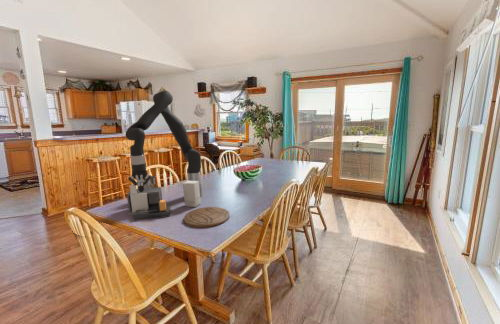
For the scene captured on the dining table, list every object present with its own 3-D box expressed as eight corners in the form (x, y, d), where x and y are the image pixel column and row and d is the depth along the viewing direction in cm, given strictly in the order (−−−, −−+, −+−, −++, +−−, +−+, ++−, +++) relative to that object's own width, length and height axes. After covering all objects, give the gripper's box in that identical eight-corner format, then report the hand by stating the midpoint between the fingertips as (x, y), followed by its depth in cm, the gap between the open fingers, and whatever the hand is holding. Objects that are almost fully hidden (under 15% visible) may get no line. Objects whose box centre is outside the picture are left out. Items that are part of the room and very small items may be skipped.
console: (170, 211, 150) (170, 206, 150) (169, 216, 143) (168, 211, 142) (136, 214, 146) (136, 210, 146) (133, 220, 139) (133, 215, 138)
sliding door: (148, 210, 151) (145, 183, 148) (148, 211, 149) (145, 184, 146) (132, 211, 149) (129, 185, 146) (132, 212, 147) (128, 185, 144)
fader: (166, 207, 148) (165, 199, 147) (165, 210, 143) (164, 201, 143) (161, 208, 147) (160, 199, 146) (160, 210, 143) (159, 202, 142)
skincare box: (201, 204, 162) (199, 180, 159) (195, 207, 156) (193, 183, 153) (189, 202, 164) (188, 180, 161) (184, 206, 158) (182, 182, 155)
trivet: (211, 206, 157) (211, 204, 157) (238, 217, 140) (238, 214, 140) (175, 219, 139) (175, 216, 139) (201, 233, 122) (201, 229, 122)
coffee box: (149, 197, 178) (147, 175, 175) (157, 197, 177) (155, 175, 174) (141, 201, 169) (139, 178, 166) (150, 202, 168) (147, 179, 165)
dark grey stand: (162, 204, 162) (161, 187, 160) (160, 211, 150) (158, 192, 148) (133, 207, 158) (130, 189, 156) (128, 215, 147) (125, 195, 144)
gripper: (151, 161, 149) (154, 188, 152) (127, 162, 146) (131, 190, 149) (149, 163, 142) (152, 192, 145) (124, 164, 139) (127, 194, 142)
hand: (141, 191), depth 147 cm, fingers closed
